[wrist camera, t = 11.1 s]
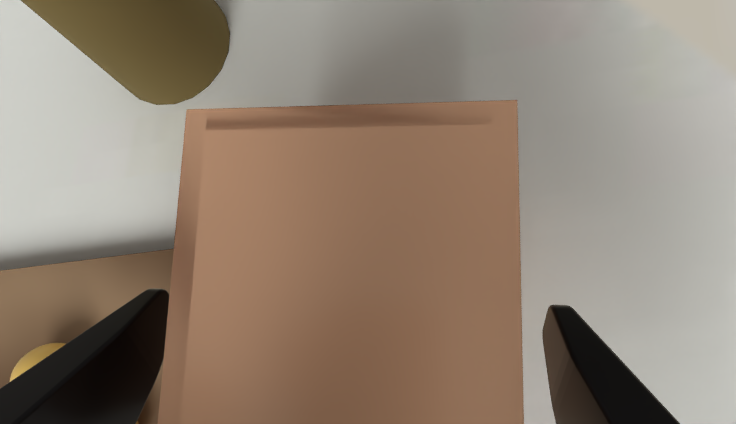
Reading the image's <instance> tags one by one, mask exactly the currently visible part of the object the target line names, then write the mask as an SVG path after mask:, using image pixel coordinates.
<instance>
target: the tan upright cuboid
mask: <svg viewBox="0 0 736 424" xmlns="http://www.w3.org/2000/svg"><path fill="white" fill-rule="evenodd" d="M158 424H524V413H523V363H522V313H521V264H520V214H519V164H518V114H517V100H502V101H467V102H432V103H398V104H363V105H328V106H293V107H258V108H223V109H188V110H187V112H186V122H185V133H184V144H183V155H182V166H181V176H180V187H179V198H178V209H177V219H176V230H175V241H174V252H173V263H172V273H171V284H170V295H169V306H168V317H167V327H166V338H165V349H164V360H163V371H162V381H161V392H160V403H159V414H158Z"/></svg>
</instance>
